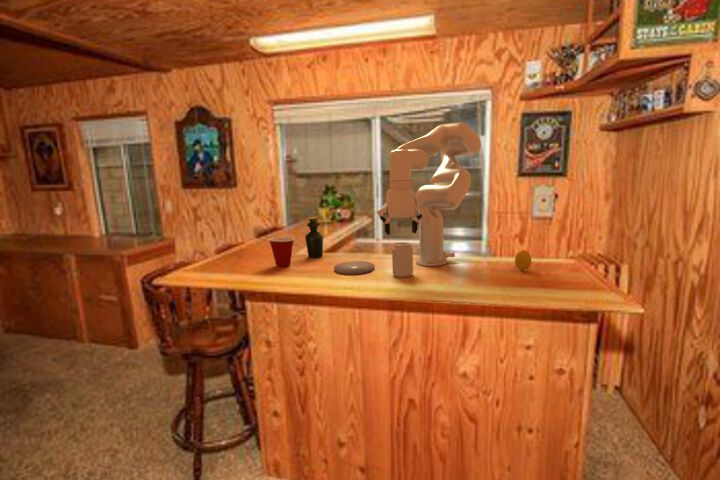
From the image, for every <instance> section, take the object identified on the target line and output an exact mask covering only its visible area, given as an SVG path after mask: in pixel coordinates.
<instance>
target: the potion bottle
mask: <svg viewBox="0 0 720 480" xmlns="http://www.w3.org/2000/svg"><path fill="white" fill-rule="evenodd" d="M308 221H309V222H307V224H306V227H308V228H309V230H310V232H308V233H306V234H305V237H304V239H305V244H306V250H307V256H308V258H309V259H320V258H322V257H323V253H324V251H323V250H324V235H323V234H322V233H321V232H319V231H318V227H319V226H320V222H318V217H313V216H312V217H308Z"/></svg>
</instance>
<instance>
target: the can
mask: <svg viewBox="0 0 720 480" xmlns="http://www.w3.org/2000/svg"><path fill="white" fill-rule="evenodd" d="M391 258H392V265H391V266H392V274H393V275H394V277H396V278H402V279H405V278H410V277H412V275H413V274H414V253H413V247H412V245H411V242H395V243H393V246H392V248H391Z"/></svg>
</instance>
